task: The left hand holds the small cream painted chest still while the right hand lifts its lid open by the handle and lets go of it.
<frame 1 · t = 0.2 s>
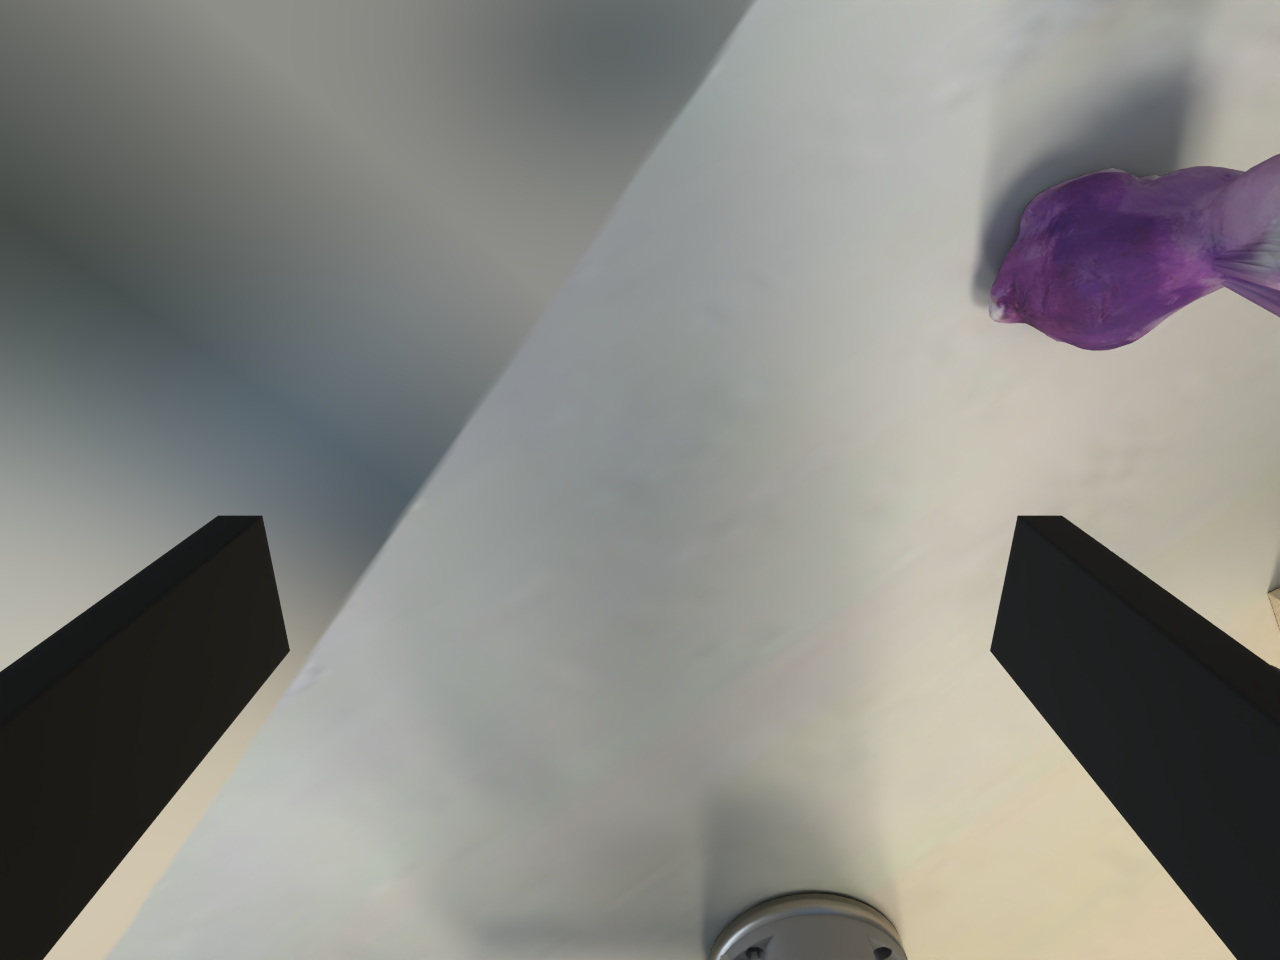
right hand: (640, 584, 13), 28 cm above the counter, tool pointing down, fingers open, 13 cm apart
figurine: (1084, 241, 37), on the counter
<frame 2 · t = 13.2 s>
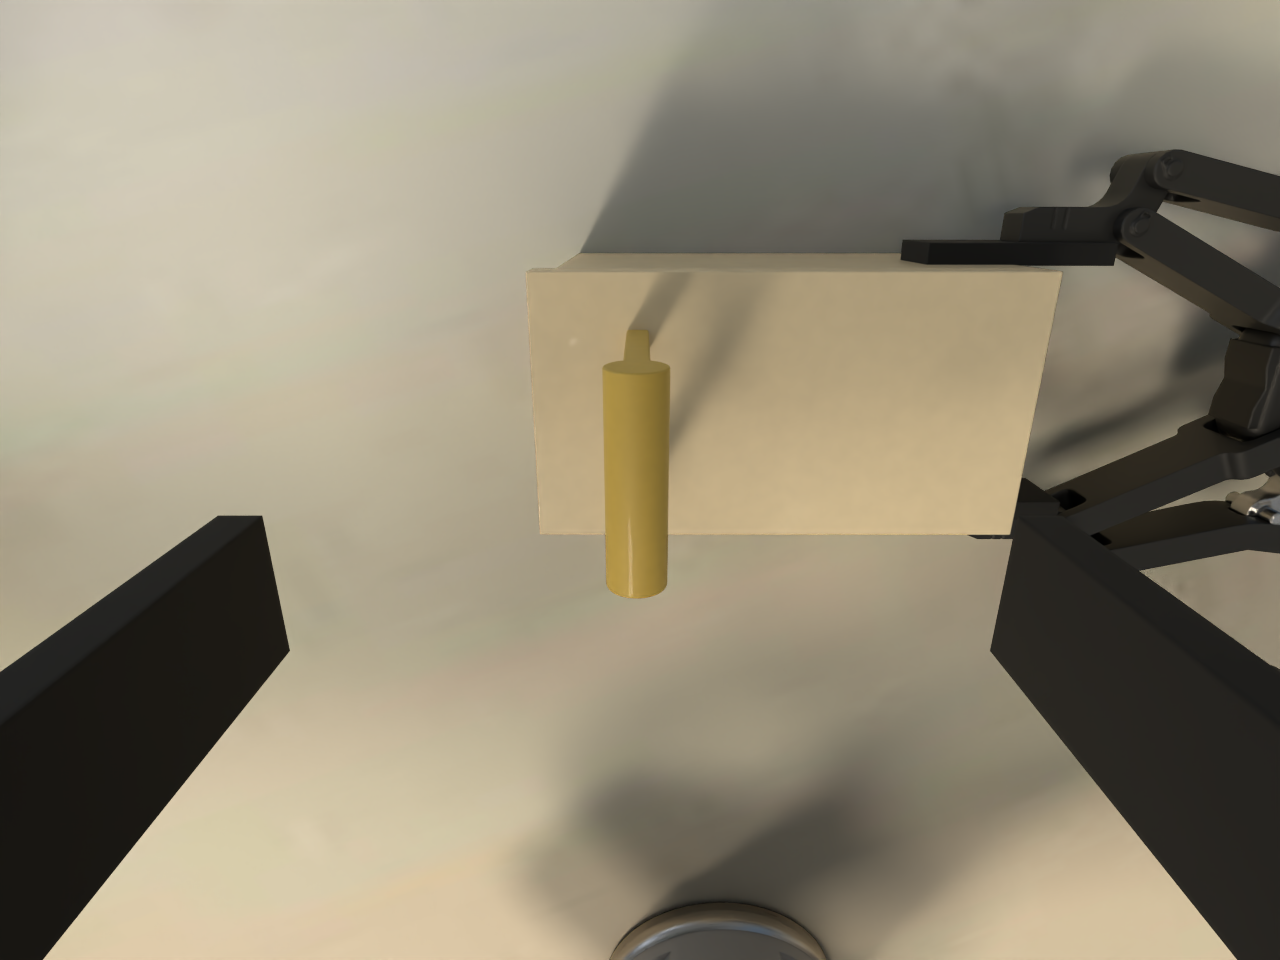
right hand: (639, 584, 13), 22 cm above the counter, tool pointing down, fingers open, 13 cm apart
left hand: (897, 382, 28), fingers closed on chest, 9 cm apart
chest: (749, 352, 33), on the counter, touching left hand
lid: (803, 439, 21), point 14 cm above the counter, hinge at 0.0°
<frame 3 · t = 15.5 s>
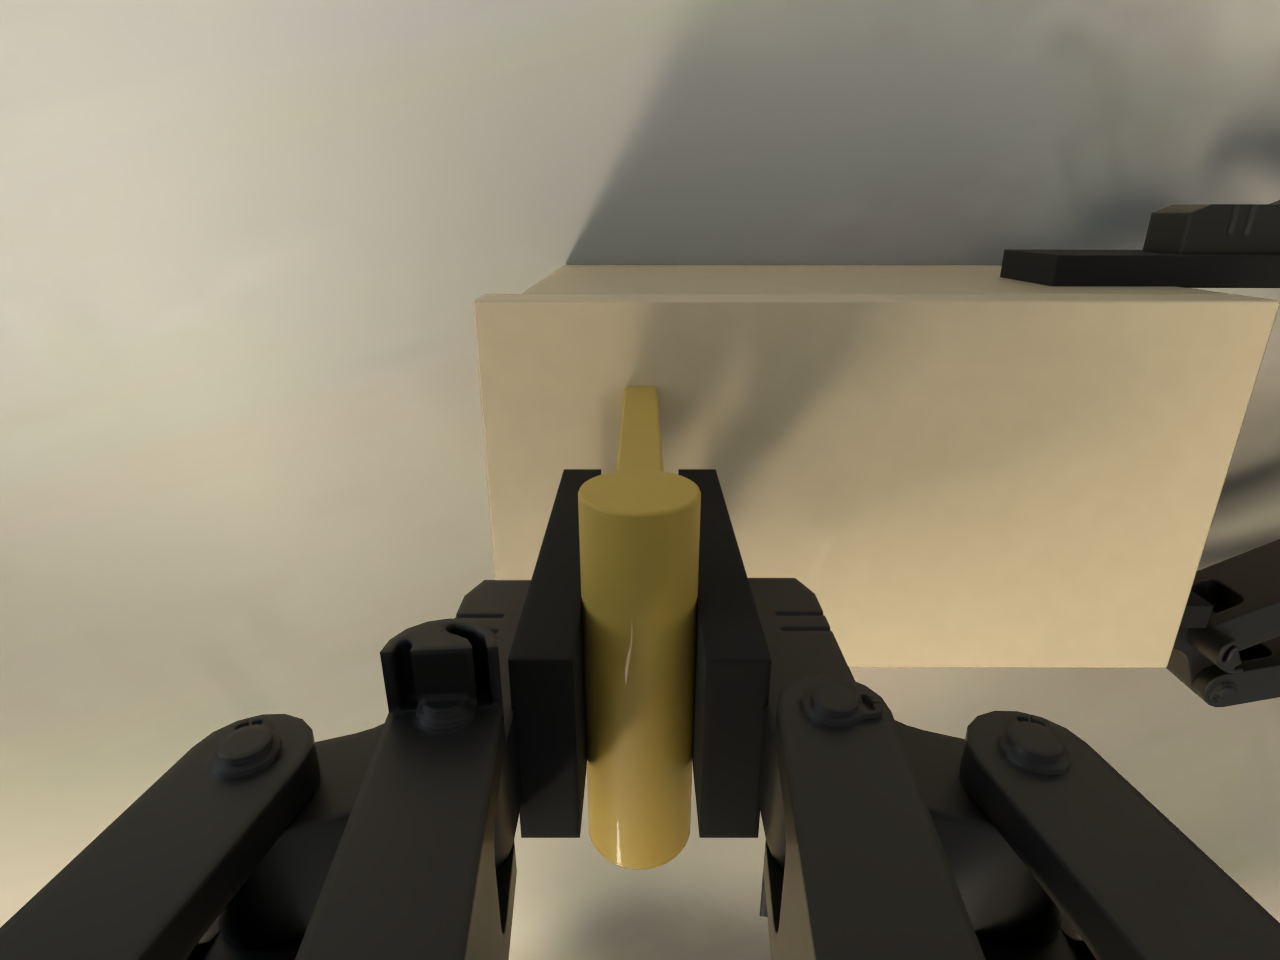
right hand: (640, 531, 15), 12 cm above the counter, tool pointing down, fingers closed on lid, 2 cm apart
chest: (783, 391, 26), on the counter, touching left hand
lid: (897, 563, 13), point 14 cm above the counter, hinge at 0.0°, touching right hand
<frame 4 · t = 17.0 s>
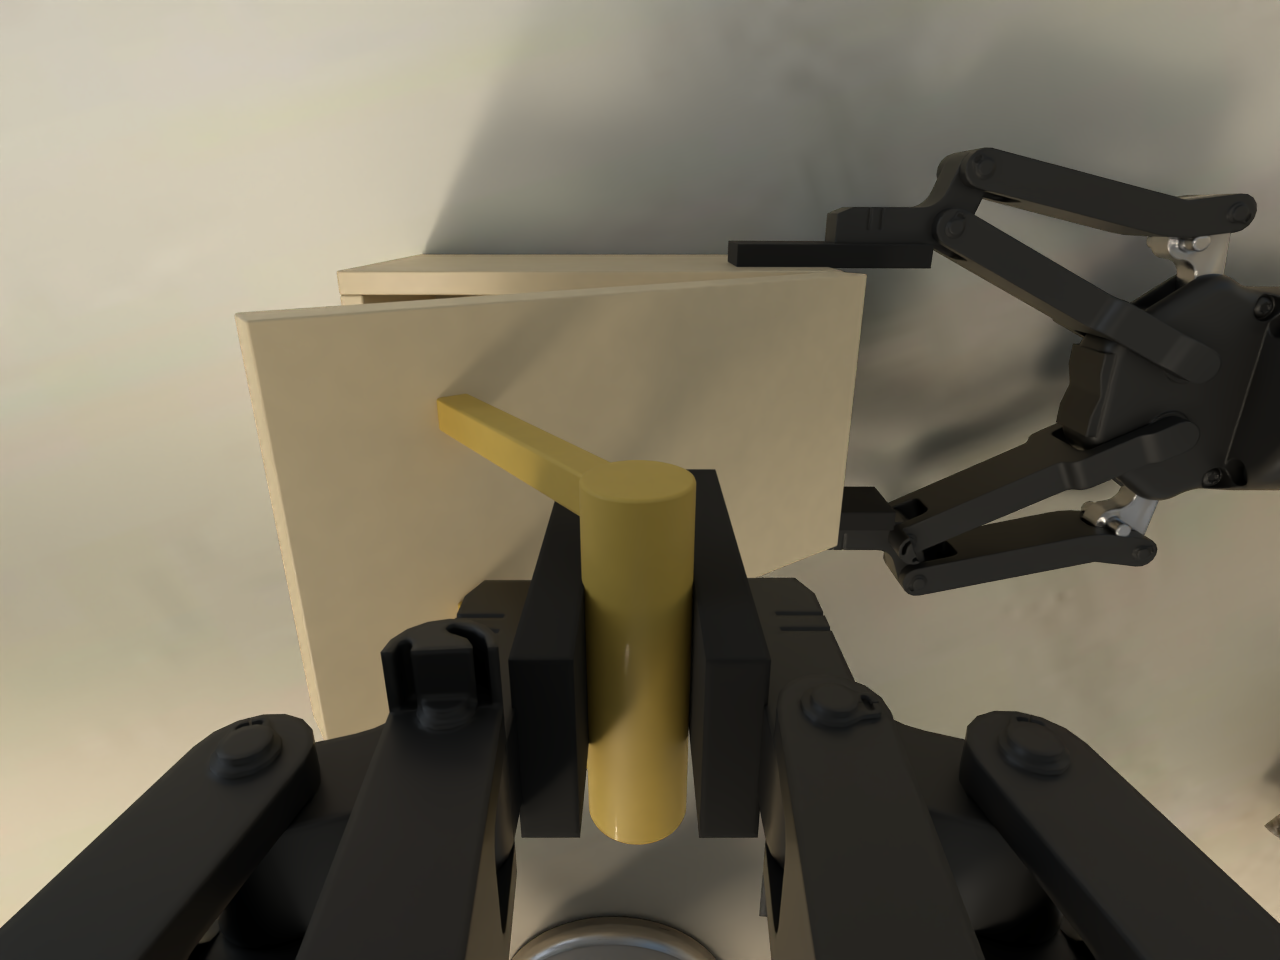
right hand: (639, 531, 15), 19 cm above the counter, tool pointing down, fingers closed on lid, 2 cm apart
left hand: (726, 388, 27), fingers closed on chest, 9 cm apart
chest: (604, 357, 32), on the counter, touching left hand
lid: (722, 508, 16), point 18 cm above the counter, hinge at 35.5°, touching right hand
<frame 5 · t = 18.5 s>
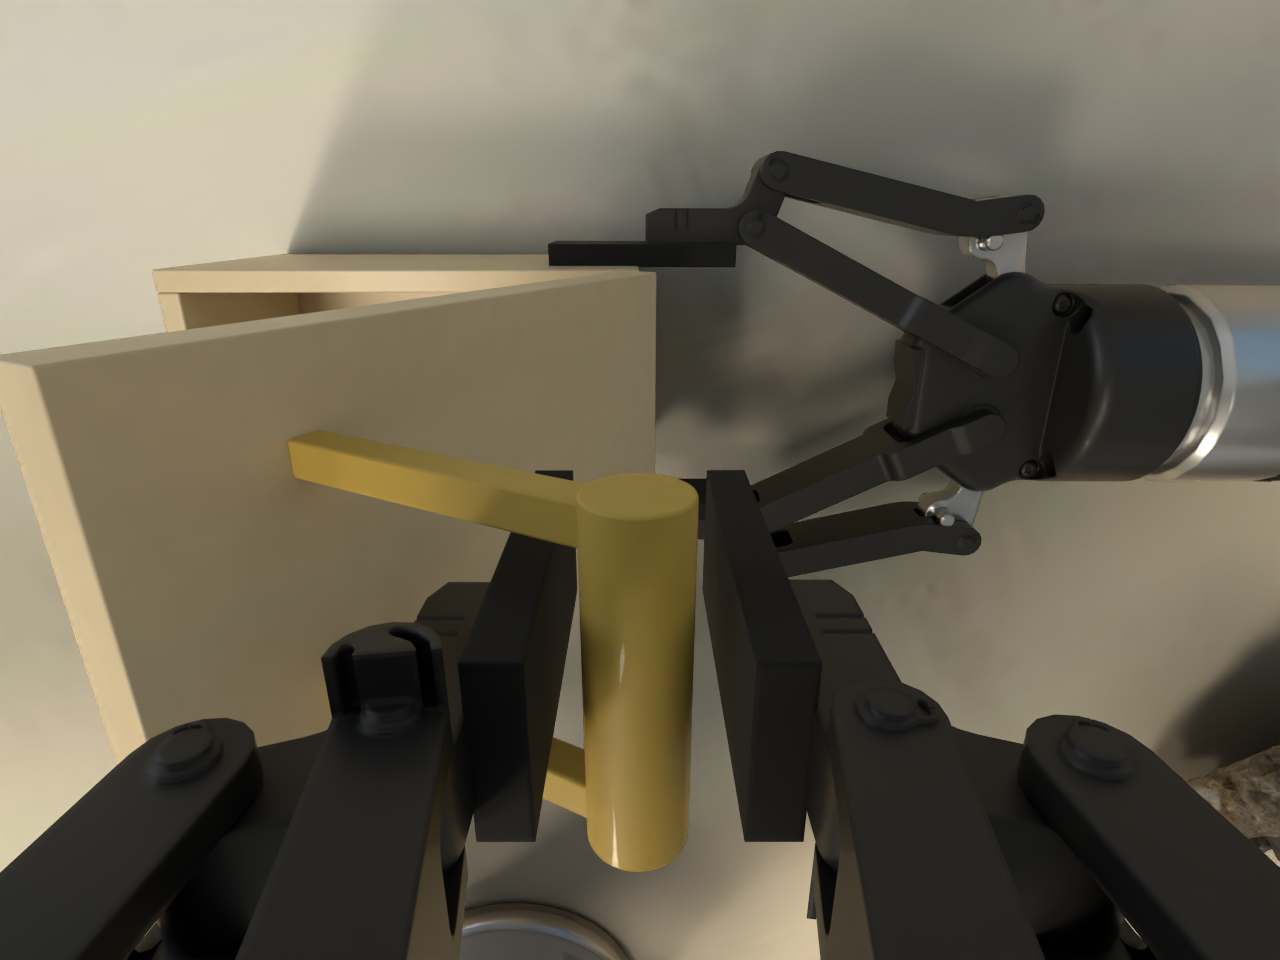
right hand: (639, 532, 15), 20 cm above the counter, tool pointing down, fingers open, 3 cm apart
left hand: (558, 383, 28), fingers closed on chest, 9 cm apart
chest: (469, 353, 33), on the counter, touching left hand
lid: (604, 513, 16), point 19 cm above the counter, hinge at 61.0°
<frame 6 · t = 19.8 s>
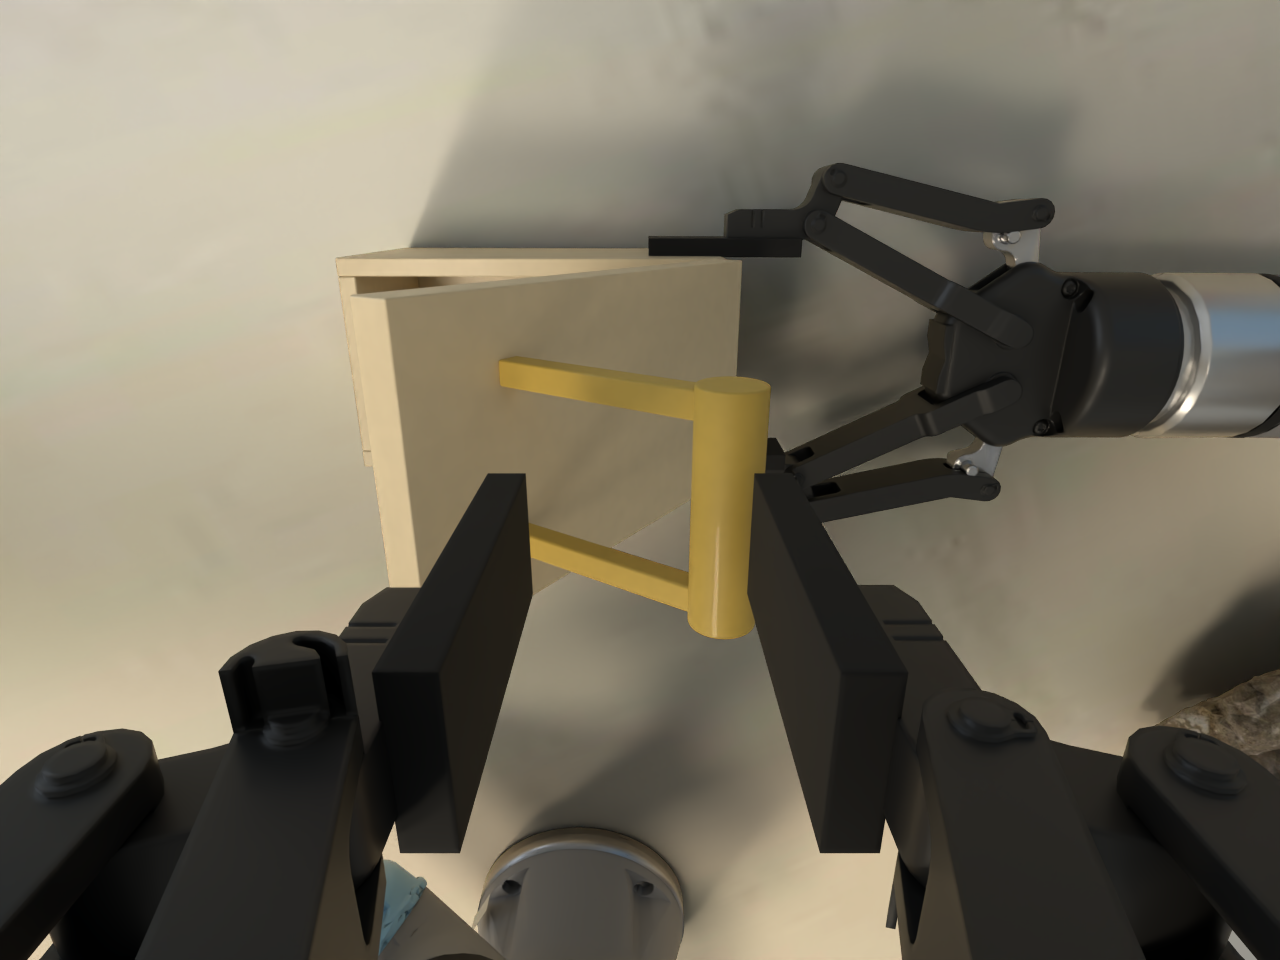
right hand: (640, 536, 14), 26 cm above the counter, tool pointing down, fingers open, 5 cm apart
left hand: (648, 355, 33), fingers closed on chest, 9 cm apart
chest: (559, 333, 39), on the counter, touching left hand
lid: (699, 432, 21), point 19 cm above the counter, hinge at 55.5°
when the left hand's fingers open (6 cm above the counter, at t = 22.3 s): chest stays where it is, on the counter.
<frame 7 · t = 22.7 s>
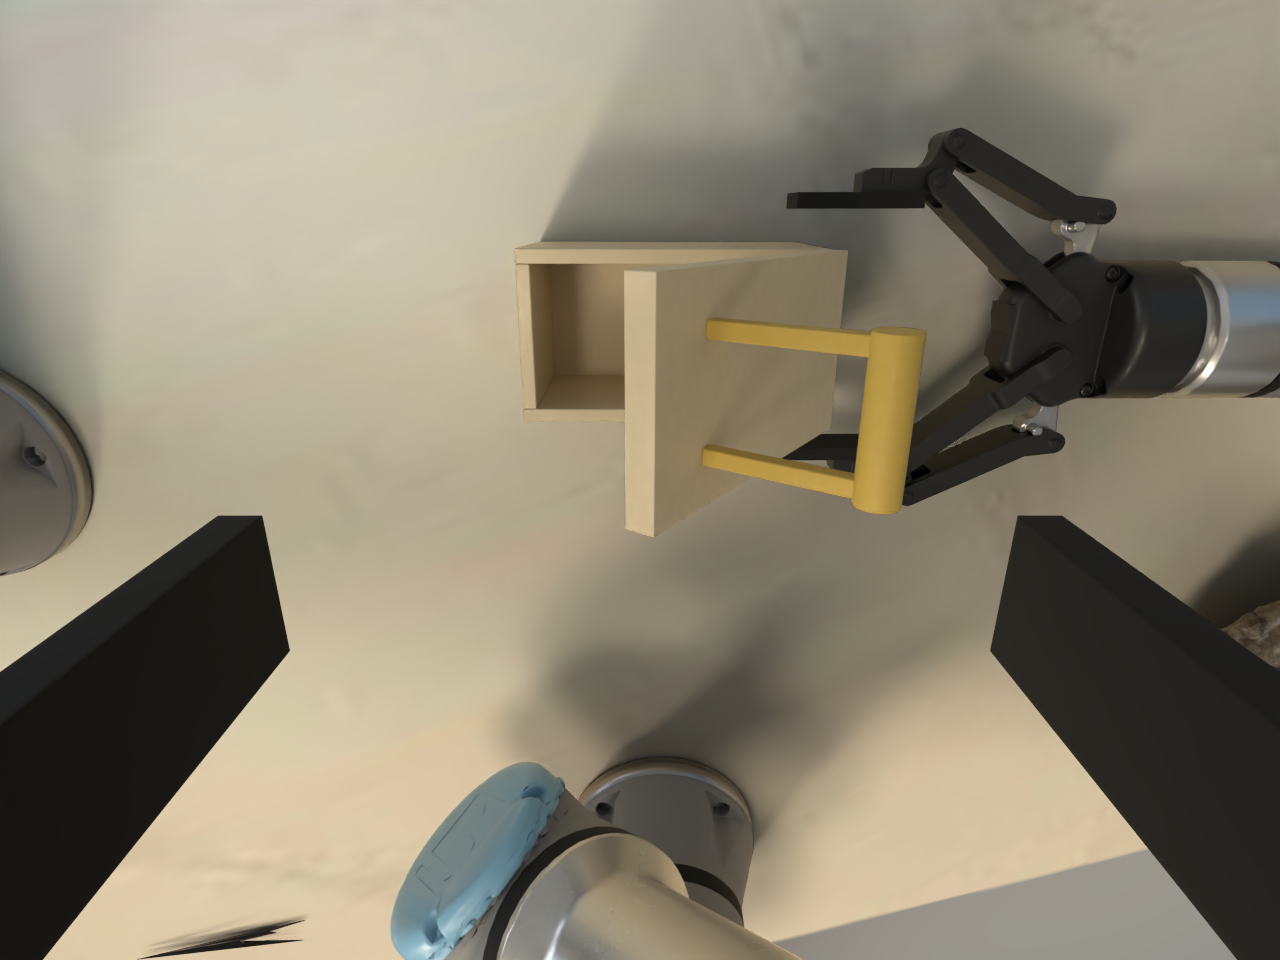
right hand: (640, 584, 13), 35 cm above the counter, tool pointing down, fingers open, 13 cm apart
left hand: (782, 331, 40), fingers open, 13 cm apart
feather: (175, 946, 66), on the counter
chest: (665, 315, 46), on the counter
fossil: (1279, 595, 53), on the counter
lid: (836, 380, 28), point 19 cm above the counter, hinge at 54.8°
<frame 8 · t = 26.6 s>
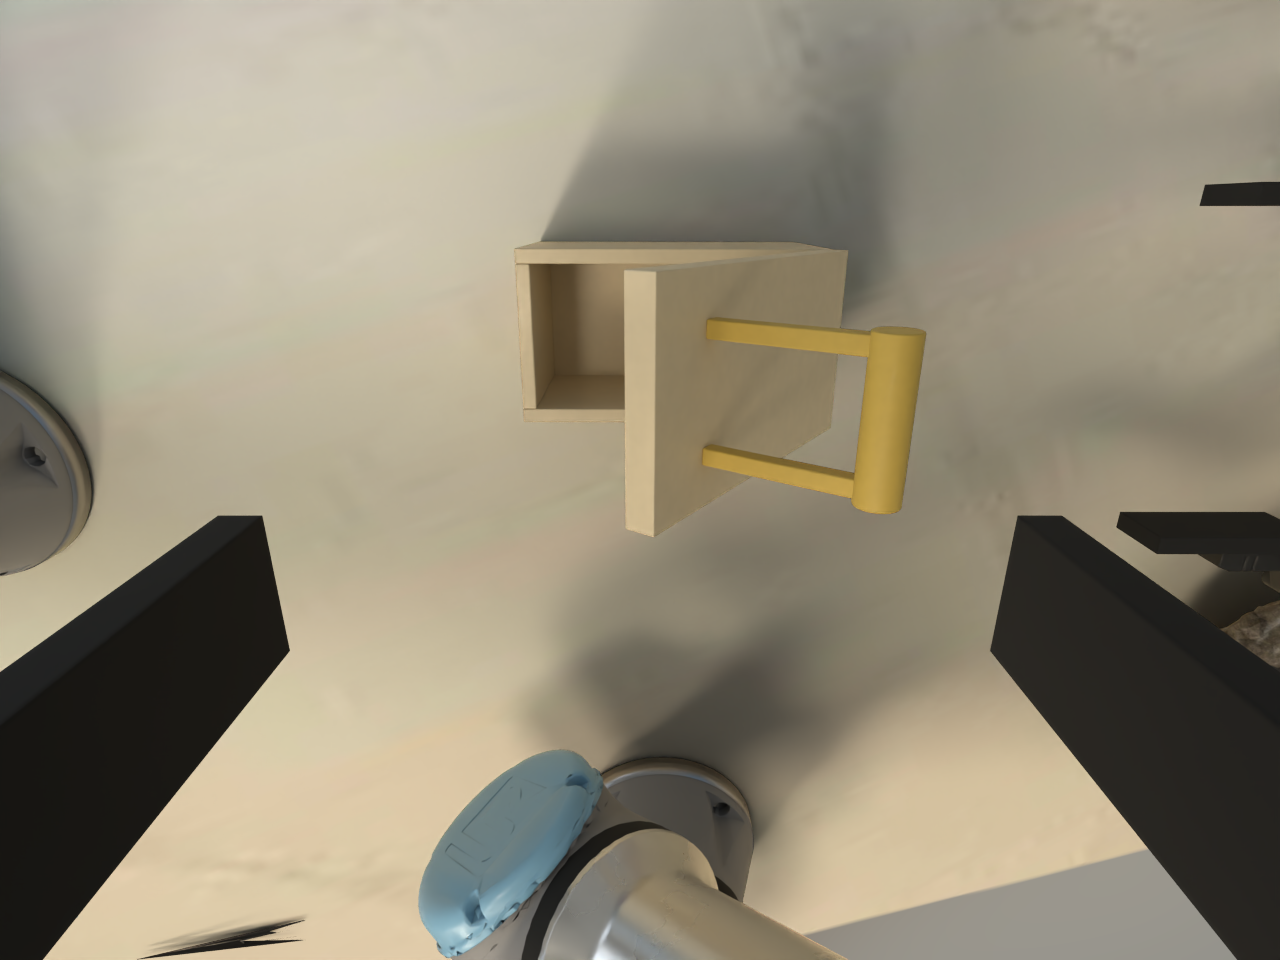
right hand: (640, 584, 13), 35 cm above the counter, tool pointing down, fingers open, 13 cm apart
feather: (175, 946, 66), on the counter
chest: (665, 315, 46), on the counter
fossil: (1279, 595, 53), on the counter
lid: (836, 380, 28), point 19 cm above the counter, hinge at 54.8°
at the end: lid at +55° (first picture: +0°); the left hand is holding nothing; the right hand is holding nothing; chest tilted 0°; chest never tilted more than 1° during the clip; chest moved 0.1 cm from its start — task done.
